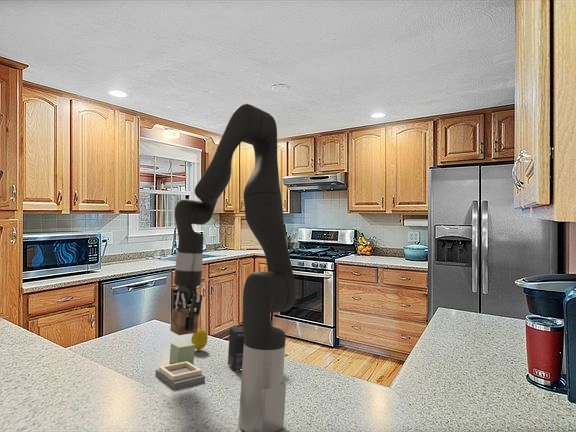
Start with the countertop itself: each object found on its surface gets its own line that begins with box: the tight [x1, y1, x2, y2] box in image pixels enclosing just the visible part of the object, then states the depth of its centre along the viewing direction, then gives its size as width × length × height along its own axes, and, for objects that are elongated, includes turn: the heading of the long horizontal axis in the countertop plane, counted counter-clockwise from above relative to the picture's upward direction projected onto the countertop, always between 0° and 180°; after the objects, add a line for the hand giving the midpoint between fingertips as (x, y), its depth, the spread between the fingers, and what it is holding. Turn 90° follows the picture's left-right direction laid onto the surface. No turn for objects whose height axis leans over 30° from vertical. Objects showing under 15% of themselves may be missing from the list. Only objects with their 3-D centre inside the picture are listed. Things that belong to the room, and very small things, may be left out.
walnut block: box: [169, 309, 199, 336], centre depth 101 cm, size 6×6×6 cm
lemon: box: [190, 327, 208, 351], centre depth 125 cm, size 6×6×8 cm
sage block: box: [169, 340, 196, 365], centre depth 112 cm, size 6×6×6 cm
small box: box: [227, 326, 244, 372], centre depth 113 cm, size 13×7×12 cm, turn 115°
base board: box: [155, 361, 206, 390], centre depth 100 cm, size 12×9×3 cm
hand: (183, 327), depth 101 cm, fingers closed on walnut block, 5 cm apart
